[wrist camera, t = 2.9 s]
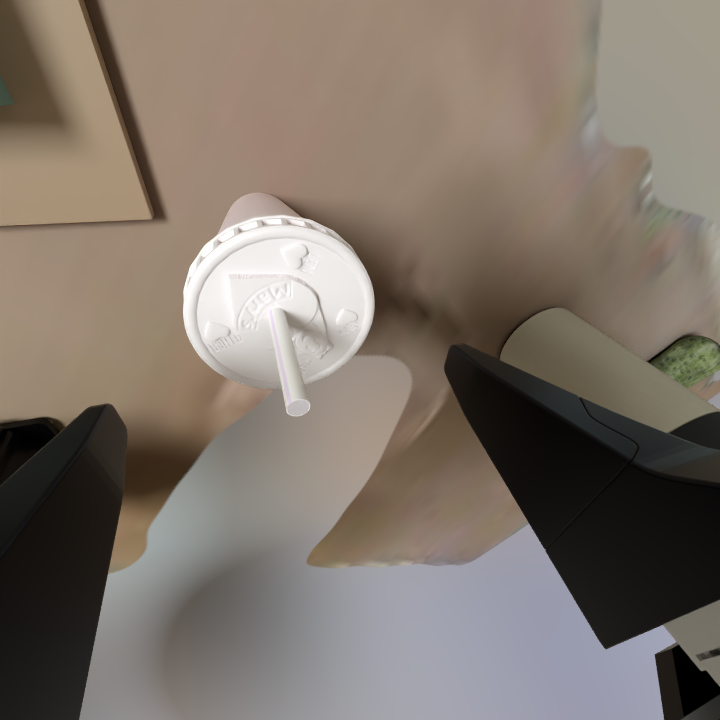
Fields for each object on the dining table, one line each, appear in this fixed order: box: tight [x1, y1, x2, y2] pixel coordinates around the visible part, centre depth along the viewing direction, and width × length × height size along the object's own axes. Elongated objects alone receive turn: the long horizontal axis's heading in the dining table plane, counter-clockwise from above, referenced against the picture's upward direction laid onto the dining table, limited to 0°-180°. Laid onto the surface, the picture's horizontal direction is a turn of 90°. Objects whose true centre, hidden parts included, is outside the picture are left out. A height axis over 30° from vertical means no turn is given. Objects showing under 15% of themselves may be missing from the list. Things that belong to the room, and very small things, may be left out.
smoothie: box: [183, 193, 375, 416], centre depth 13 cm, size 6×6×14 cm
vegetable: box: [649, 336, 720, 389], centre depth 41 cm, size 14×5×5 cm, turn 133°
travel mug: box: [500, 308, 720, 450], centre depth 26 cm, size 8×8×18 cm
